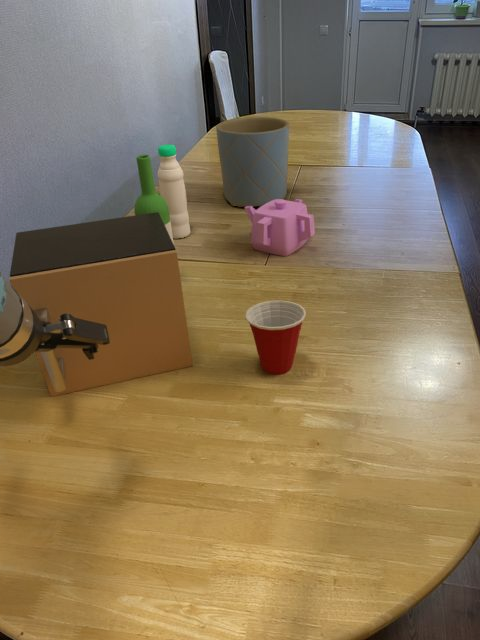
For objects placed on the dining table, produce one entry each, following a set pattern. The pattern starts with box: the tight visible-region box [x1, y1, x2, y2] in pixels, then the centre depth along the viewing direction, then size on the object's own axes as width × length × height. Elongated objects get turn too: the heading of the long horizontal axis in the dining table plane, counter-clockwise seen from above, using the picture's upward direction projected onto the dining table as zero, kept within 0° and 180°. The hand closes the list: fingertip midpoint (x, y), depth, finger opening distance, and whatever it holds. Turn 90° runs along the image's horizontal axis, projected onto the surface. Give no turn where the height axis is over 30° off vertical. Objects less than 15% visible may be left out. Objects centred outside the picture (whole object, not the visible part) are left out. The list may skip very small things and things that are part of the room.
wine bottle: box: [134, 154, 175, 245], centre depth 119 cm, size 8×8×30 cm
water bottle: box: [157, 143, 191, 240], centre depth 144 cm, size 7×7×25 cm
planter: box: [215, 116, 290, 208], centre depth 168 cm, size 23×23×24 cm
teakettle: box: [244, 198, 316, 257], centre depth 140 cm, size 17×17×12 cm
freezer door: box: [9, 250, 194, 398], centre depth 87 cm, size 8×26×24 cm, turn 108°
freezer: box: [9, 212, 177, 278], centre depth 97 cm, size 18×26×24 cm
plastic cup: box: [245, 299, 307, 376], centre depth 95 cm, size 11×11×12 cm
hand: (40, 360), depth 73 cm, fingers open, 13 cm apart
